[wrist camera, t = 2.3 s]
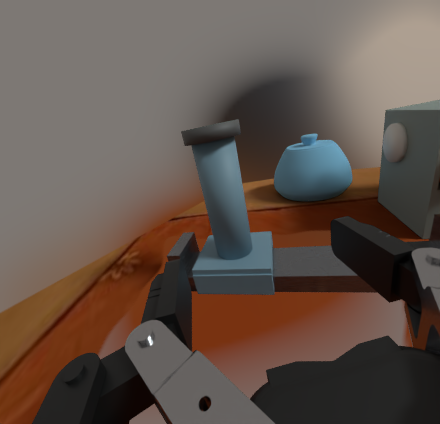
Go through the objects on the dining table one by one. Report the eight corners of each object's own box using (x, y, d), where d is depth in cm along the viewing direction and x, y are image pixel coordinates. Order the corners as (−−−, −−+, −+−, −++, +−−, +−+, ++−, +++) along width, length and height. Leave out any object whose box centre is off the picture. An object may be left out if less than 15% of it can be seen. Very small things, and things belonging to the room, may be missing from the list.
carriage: (198, 293, 23) (150, 138, 17) (214, 253, 30) (183, 130, 24) (274, 294, 21) (250, 116, 15) (273, 250, 28) (257, 115, 21)
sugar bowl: (341, 176, 51) (342, 124, 46) (362, 200, 37) (366, 130, 33) (276, 184, 55) (271, 137, 51) (274, 207, 42) (267, 147, 38)
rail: (179, 291, 25) (166, 256, 23) (192, 264, 30) (183, 233, 28) (486, 293, 18) (504, 241, 16) (443, 256, 22) (454, 212, 20)
